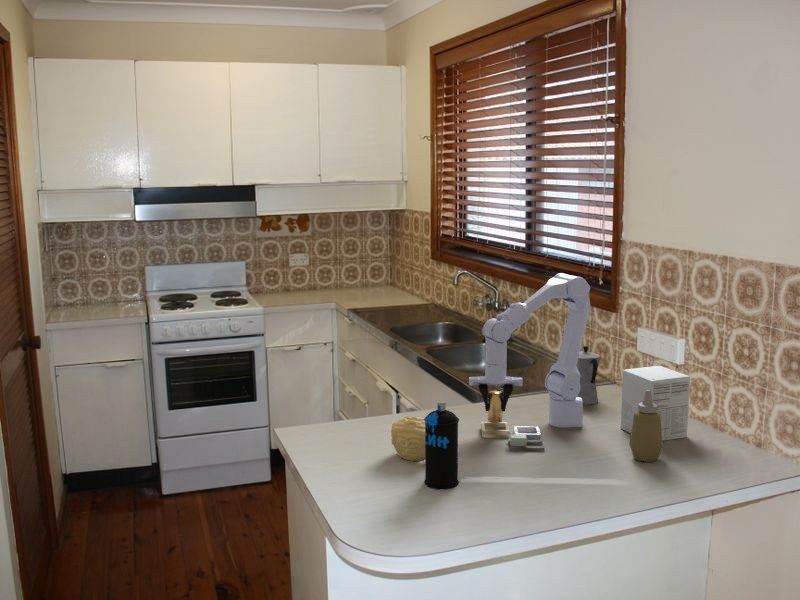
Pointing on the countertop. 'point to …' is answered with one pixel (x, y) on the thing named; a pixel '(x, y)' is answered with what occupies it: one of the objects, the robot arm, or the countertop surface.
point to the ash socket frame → (495, 429)
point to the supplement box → (657, 398)
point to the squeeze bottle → (646, 431)
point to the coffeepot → (588, 376)
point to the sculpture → (409, 438)
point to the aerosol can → (441, 448)
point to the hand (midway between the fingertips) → (495, 410)
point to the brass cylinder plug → (495, 406)
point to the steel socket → (528, 432)
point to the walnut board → (527, 448)
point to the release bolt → (518, 440)
